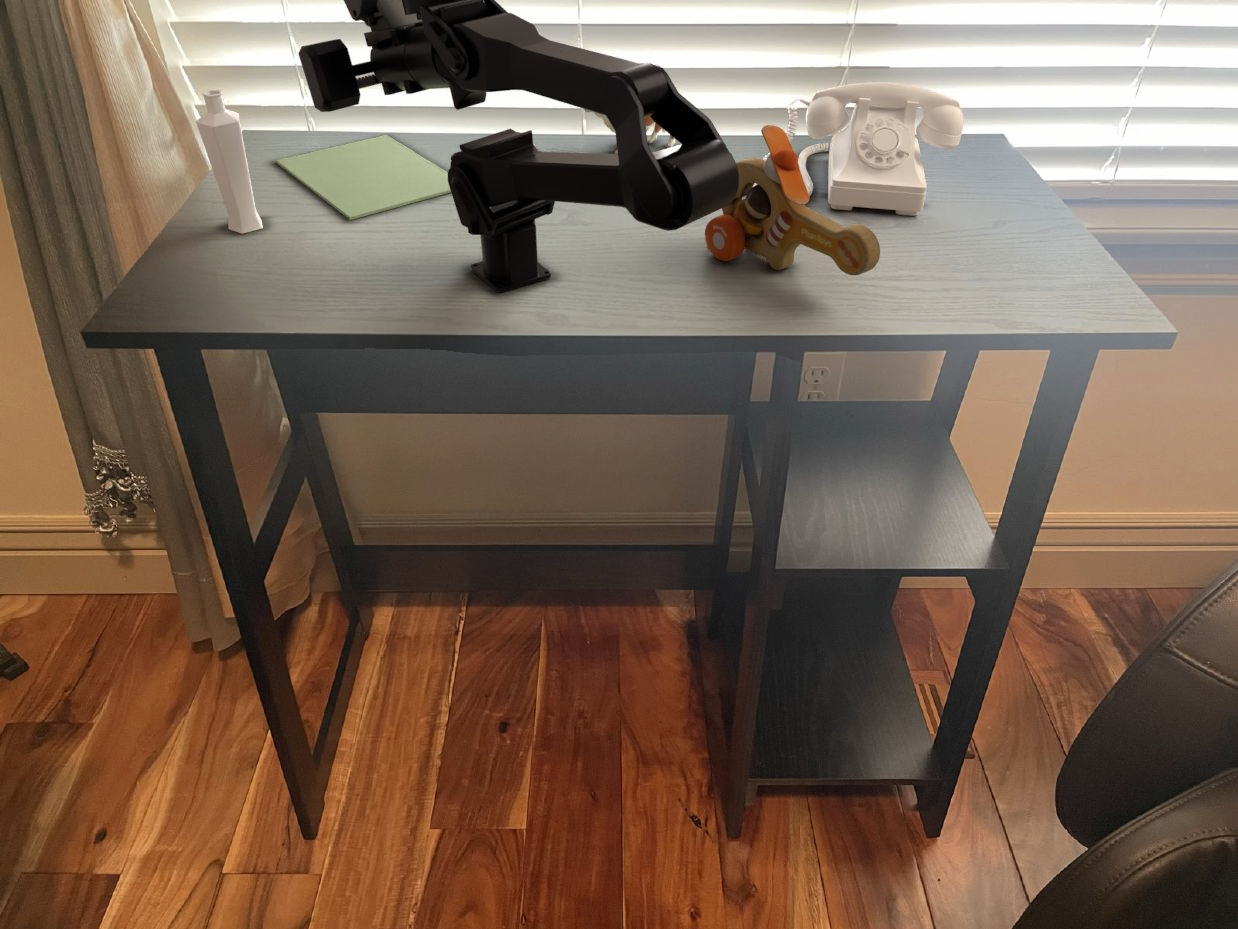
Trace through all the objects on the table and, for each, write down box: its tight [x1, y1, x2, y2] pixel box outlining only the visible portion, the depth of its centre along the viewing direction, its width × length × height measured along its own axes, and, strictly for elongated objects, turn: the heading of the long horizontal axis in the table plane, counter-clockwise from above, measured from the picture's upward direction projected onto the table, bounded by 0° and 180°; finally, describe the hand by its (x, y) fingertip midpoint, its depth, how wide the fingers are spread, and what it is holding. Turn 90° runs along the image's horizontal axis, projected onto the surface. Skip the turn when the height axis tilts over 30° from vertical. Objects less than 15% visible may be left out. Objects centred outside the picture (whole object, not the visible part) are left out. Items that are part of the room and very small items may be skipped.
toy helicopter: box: [704, 124, 881, 276], centre depth 96 cm, size 8×21×14 cm, turn 39°
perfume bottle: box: [195, 89, 264, 235], centre depth 103 cm, size 5×4×15 cm
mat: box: [275, 134, 452, 221], centre depth 119 cm, size 22×16×1 cm
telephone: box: [753, 81, 964, 217], centre depth 116 cm, size 25×21×12 cm
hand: (350, 65), depth 102 cm, fingers open, 9 cm apart
